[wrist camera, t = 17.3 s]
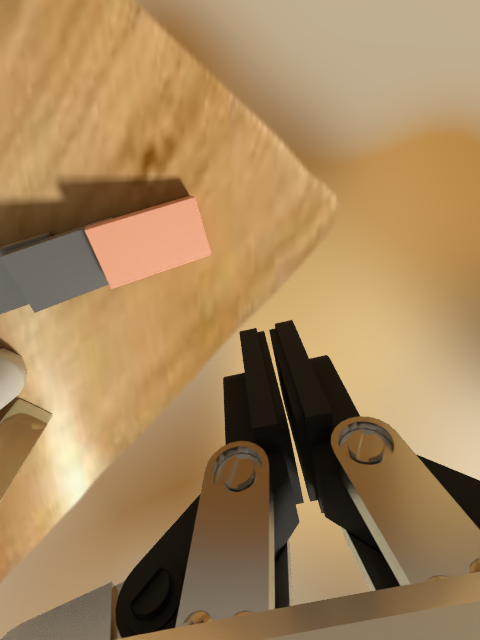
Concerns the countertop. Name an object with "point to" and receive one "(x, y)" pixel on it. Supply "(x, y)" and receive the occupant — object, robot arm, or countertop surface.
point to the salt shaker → (11, 376)
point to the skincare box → (18, 439)
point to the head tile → (149, 241)
